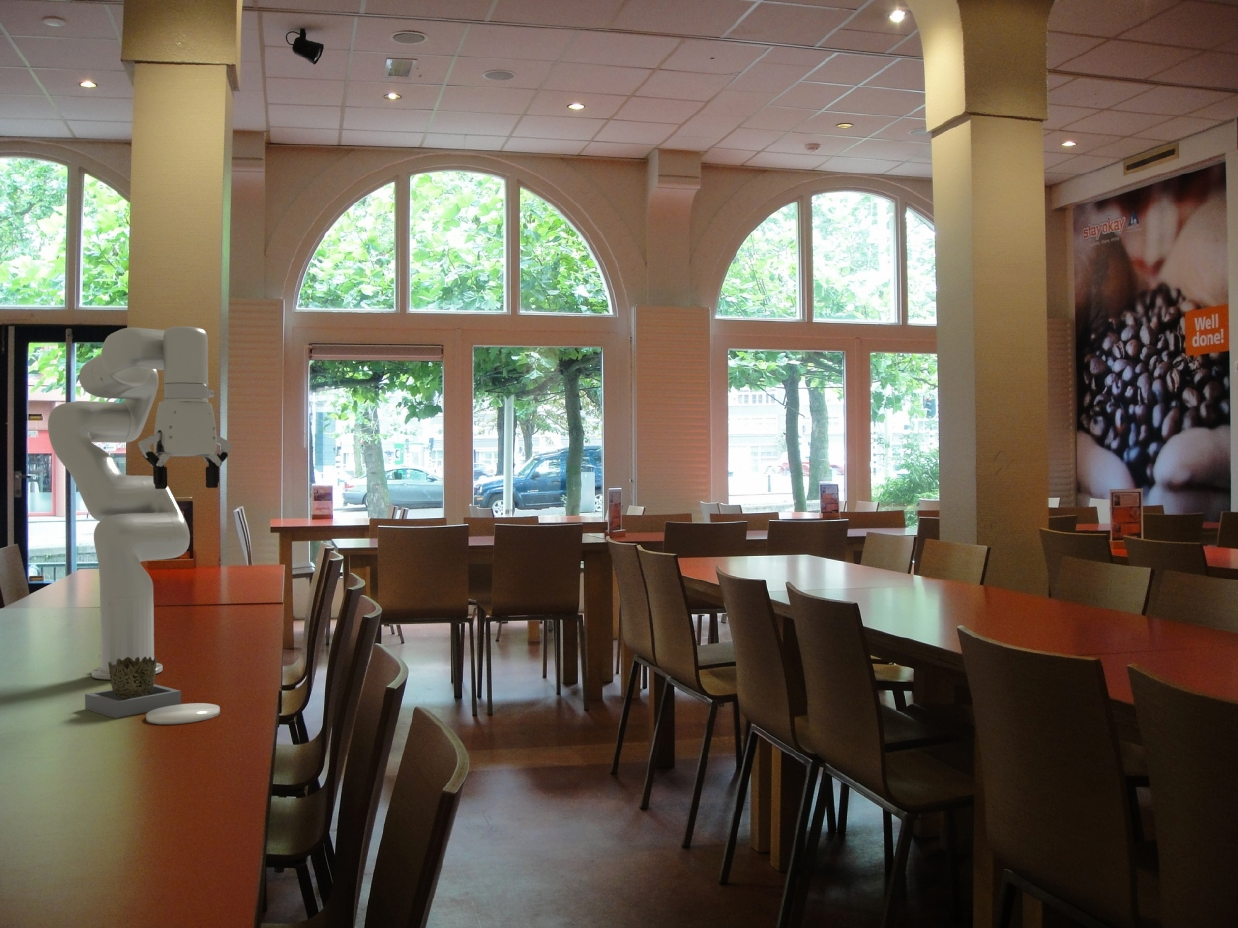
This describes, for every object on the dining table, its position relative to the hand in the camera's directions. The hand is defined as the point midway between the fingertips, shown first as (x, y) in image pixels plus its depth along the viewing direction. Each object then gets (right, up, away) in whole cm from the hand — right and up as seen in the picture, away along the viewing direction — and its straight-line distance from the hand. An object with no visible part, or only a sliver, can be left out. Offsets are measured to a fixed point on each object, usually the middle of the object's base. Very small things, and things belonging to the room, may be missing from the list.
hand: (187, 488), depth 186 cm
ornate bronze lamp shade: (-3, -37, -14) cm, 40 cm away
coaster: (+8, -37, -21) cm, 43 cm away
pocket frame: (-3, -37, -14) cm, 39 cm away
